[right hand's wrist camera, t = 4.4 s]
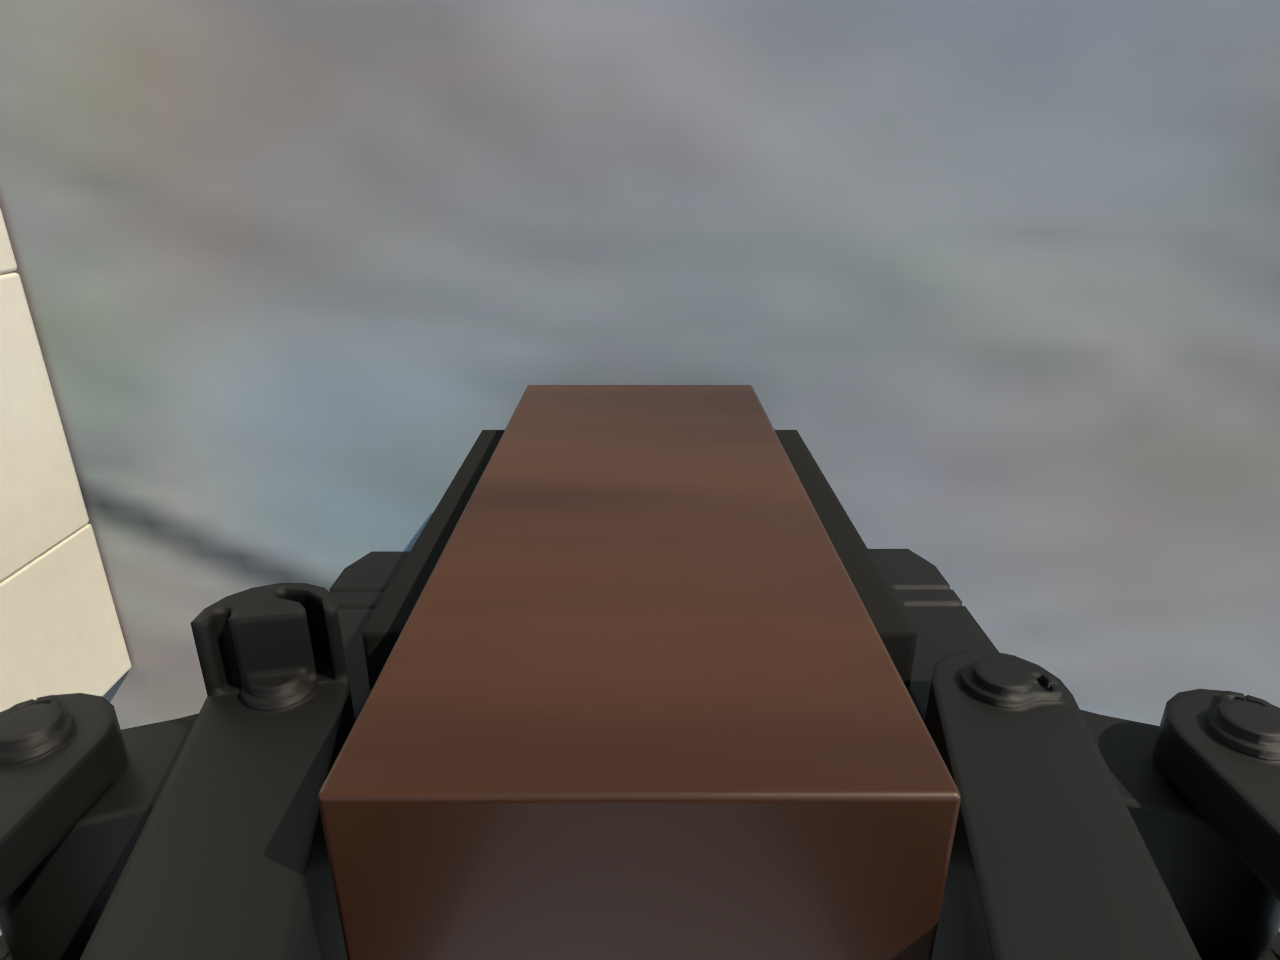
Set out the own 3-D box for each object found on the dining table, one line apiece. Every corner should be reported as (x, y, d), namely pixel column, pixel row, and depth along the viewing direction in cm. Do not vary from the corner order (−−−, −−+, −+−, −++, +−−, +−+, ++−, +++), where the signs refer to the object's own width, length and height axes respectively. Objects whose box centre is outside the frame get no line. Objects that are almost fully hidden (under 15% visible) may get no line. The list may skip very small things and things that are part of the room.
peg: (741, 583, 16) (891, 1192, 6) (537, 583, 16) (387, 1192, 6) (752, 384, 14) (966, 794, 5) (527, 384, 14) (312, 796, 5)
